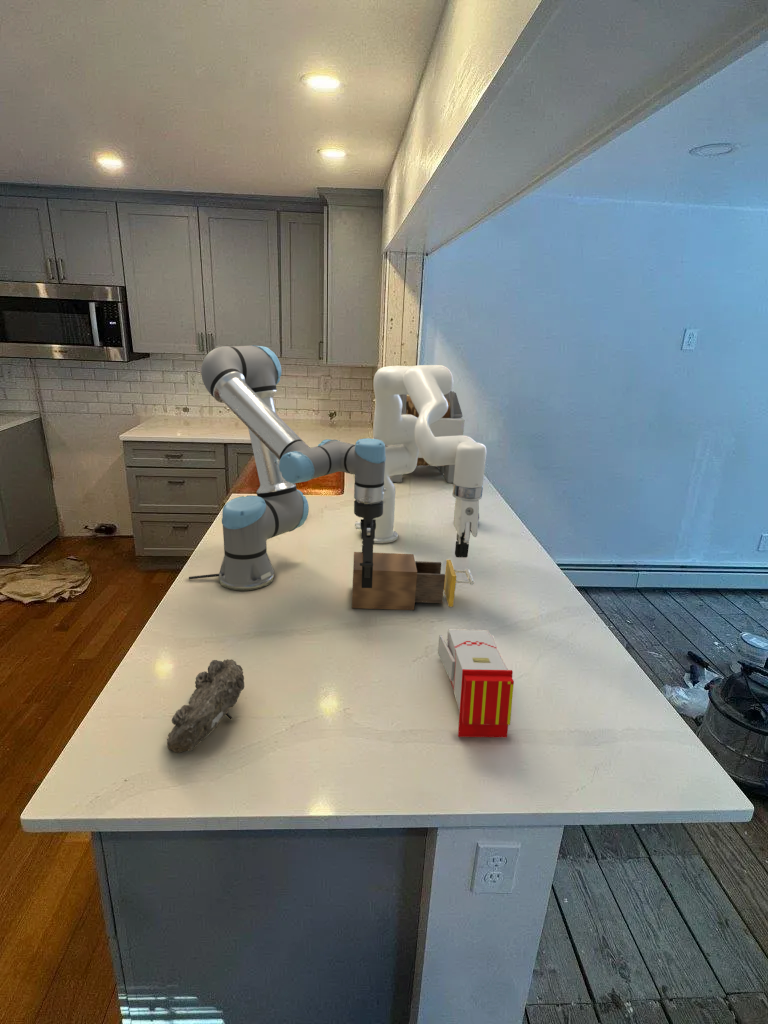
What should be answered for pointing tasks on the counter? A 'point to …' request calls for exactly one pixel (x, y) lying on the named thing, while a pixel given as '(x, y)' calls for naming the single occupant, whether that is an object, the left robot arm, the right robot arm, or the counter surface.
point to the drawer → (437, 582)
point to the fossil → (206, 705)
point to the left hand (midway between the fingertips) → (366, 576)
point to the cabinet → (386, 582)
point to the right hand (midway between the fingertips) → (461, 556)
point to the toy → (478, 682)
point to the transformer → (437, 430)
